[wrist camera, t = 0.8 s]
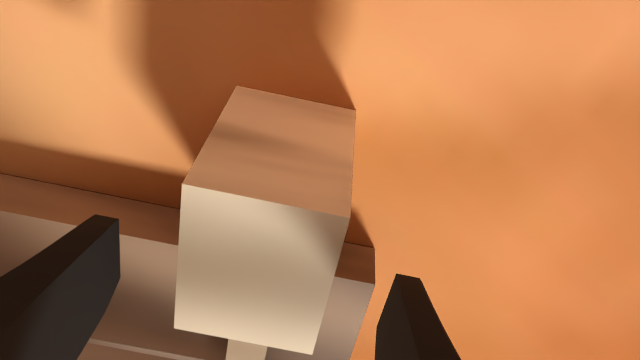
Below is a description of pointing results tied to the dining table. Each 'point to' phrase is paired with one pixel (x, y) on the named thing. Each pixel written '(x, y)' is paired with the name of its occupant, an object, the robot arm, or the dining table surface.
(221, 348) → the plank
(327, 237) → the wooden mallet
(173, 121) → the dining table surface
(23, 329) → the robot arm
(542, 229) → the dining table surface
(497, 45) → the dining table surface
